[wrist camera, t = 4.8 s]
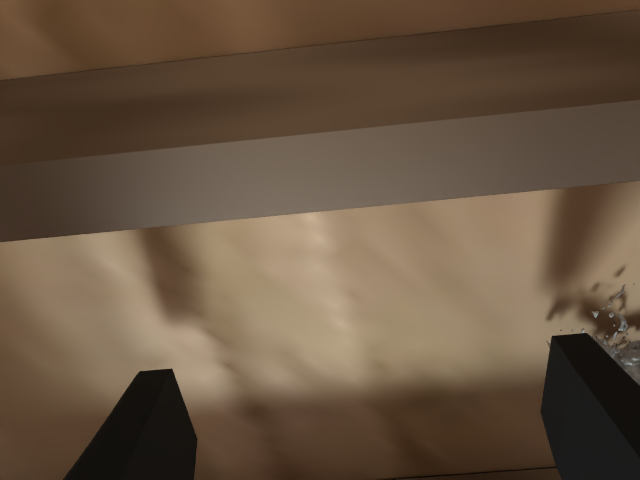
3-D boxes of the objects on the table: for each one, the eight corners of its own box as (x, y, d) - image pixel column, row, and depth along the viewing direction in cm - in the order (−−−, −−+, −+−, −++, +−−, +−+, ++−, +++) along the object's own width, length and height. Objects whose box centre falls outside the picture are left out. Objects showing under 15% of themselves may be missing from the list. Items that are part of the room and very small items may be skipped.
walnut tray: (-158, 541, 17) (-238, 667, 14) (-570, 143, 10) (-864, 254, 7) (638, 485, 16) (698, 611, 13) (797, -8, 9) (989, 64, 6)
